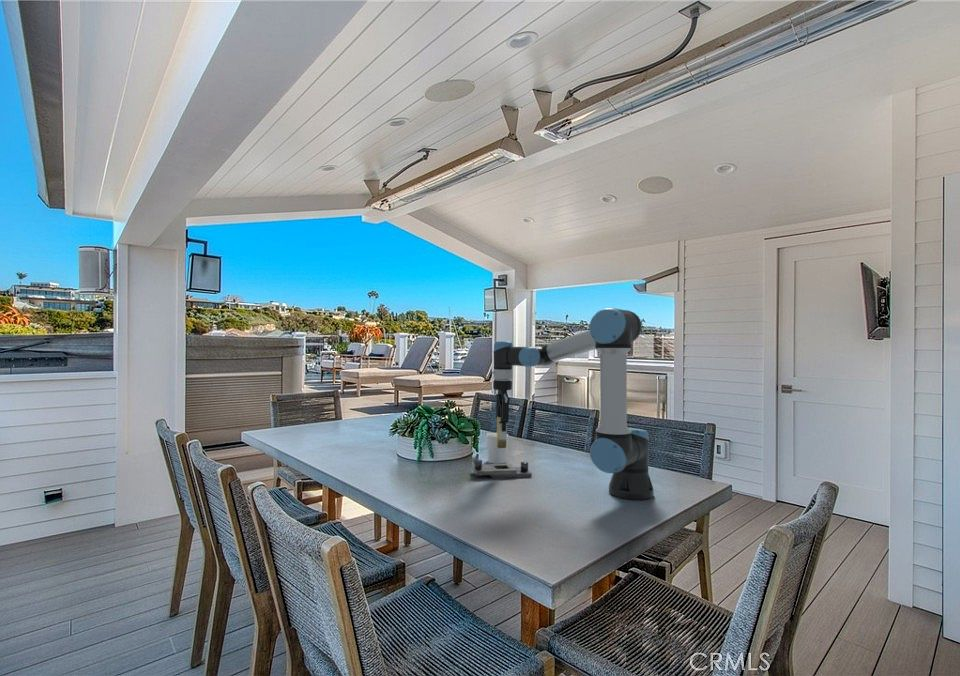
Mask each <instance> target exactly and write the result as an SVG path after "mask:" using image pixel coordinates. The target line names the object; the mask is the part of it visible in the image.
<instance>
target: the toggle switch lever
mask: <svg viewBox="0 0 960 676" xmlns="http://www.w3.org/2000/svg"><path fill="white" fill-rule="evenodd" d="M499 422H501V416H499V417H497V418H496V433H497V448H506V447H507V440H500V423H499Z"/></svg>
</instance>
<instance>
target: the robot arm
mask: <svg viewBox="0 0 960 676" xmlns="http://www.w3.org/2000/svg"><path fill="white" fill-rule="evenodd" d="M642 329H643V325H642V321H641V319H640V317H639V316H638V315H637V313H635V312H633V311H631V310H629V309H628V310H627V309H620V308H614V307H609V308H603V309H600V310H599V311H597V312H596V313H595V314H594V315H593V316H592V317H591V319H590V322H589V329H588V330H585V331H582V332H579V333H576V334H573V335H570V336H568V337H565V338H561V339H558V340H555V341H554V342H551V343H546V344H545V345H541V346H513V345H514V344H513V342H512V341H495V342H494V344H493V352H492V353H493V371H492V372H491V373H492V375H493V379H494V380H493V382H492V388H493V390H495V391H497V393H496V394H495V419H497V417H499V416H501V422H499V423H500V440H507V434H508V423H509V420H510V418H509V411H510V397H509V394H508V391H511V390H513V381H512V379H513V366H517V367H524V368H525V367H526V368H529V367H536V366H550V365H553V363H554V362H558V361H561V360H564V359H567V358H570V357H574V356H576V355H580V354H584V353H587V352H589V351H593V350H596V351H597V352H598V354H599V378H600V380H599V381H600V382H599V385H600V386H599V393H600V395H599V397H600V398H599V401H600V402H599V404H600V405H599V406H600V407H599V410H600V412H599V414H600V417H599V418H600V419H599V420H600V421H599V422H600V423H599V426H598V427H597V428H596V429H595V440H594V441H593V443H592V444H591V445H590V447H589V456H590V459H591V462H592V463H593V464H594V465H595V467H596V468H597V469H598V470H600V471H601V472H603V473H605V474H606V473H607V474H612V475H611V478H610V482H609V484H608V492H609V494H611V495H612V496H614V497H617V498H621V499H625V500H632V501H633V500H636V501H640V500H641V501H642V500H650V499H652V498H653V497H654V496H655V495H654V486H653V483H652V480H651V477H650V474H649V466H650V465H649V461H650V459H649V457H650V455H649V453H650V438H649V432H648V431H647V430H645V429H641V428H635V427H634V428H633V427H628V414H627V413H628V405H627V404H628V401H627V399H628V397H627V396H628V393H627V391H628V390H627V389H628V387H627V386H628V382H627V379H628V378H627V377H628V376H627V375H628V373H627V372H628V371H627V369H628V368H627V363H628V361H627V360H628V358H627V357H628V355H627V354H628V353H629V352H630V351H631V350H632V343H633V342H635V341H636V340H637V339H638V338H639V337H640V335H641V333H642Z"/></svg>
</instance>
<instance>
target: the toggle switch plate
mask: <svg viewBox="0 0 960 676" xmlns="http://www.w3.org/2000/svg"><path fill="white" fill-rule="evenodd" d="M471 468H472V470H473V472H474V474H475V475H476V476H489V477H490V478H491V479H492V480H493V479H494V480H496V479H497V480H498V479H519V478H520V479H521V478H532V475H533V474H532V472H531V471H530V470H529V462H528V461H521V462H520V466H514V465H512V463H503V464H493V463H489V464H483V459H474V464H472V465H471Z"/></svg>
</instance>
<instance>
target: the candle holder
mask: <svg viewBox="0 0 960 676" xmlns="http://www.w3.org/2000/svg"><path fill="white" fill-rule="evenodd" d="M508 444H509V434H508V433H507V447H506V448H497V432H490V433H489V432H488V433H486V450H487V462H488V463H489V464H507V461H508V448H509V447H508V446H509V445H508Z"/></svg>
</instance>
